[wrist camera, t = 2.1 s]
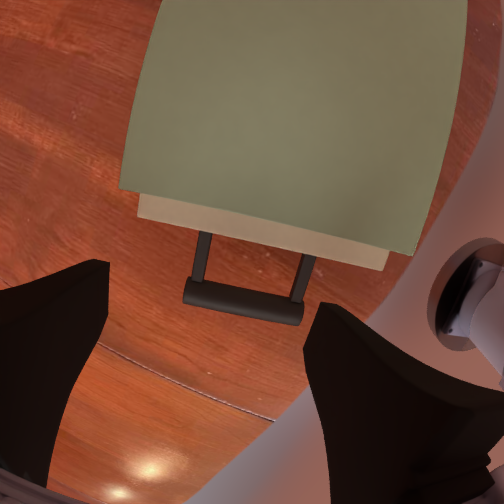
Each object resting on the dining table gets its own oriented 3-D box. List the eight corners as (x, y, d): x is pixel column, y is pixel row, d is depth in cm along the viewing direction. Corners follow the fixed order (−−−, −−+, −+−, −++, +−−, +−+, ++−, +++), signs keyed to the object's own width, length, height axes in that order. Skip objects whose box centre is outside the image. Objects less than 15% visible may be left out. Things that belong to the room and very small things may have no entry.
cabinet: (352, 208, 20) (413, 257, 12) (171, 165, 19) (117, 188, 11) (397, 19, 15) (468, -25, 7) (223, -29, 14) (209, -107, 6)
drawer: (320, 294, 21) (345, 359, 15) (162, 261, 20) (127, 317, 14) (389, 40, 15) (446, 8, 9) (222, -7, 14) (210, -65, 8)
